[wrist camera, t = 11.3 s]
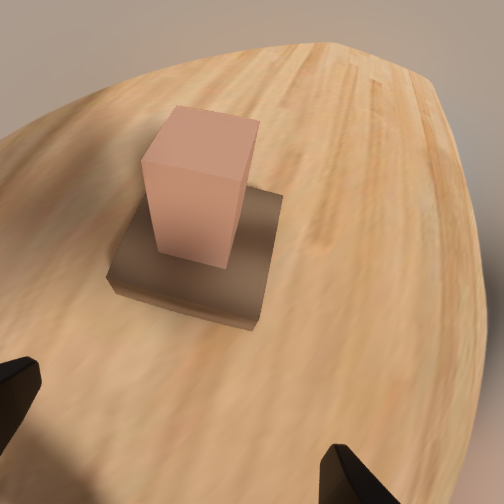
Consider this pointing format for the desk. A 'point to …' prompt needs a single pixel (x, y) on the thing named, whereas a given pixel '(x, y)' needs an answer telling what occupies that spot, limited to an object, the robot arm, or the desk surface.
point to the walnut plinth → (202, 267)
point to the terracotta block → (198, 182)
